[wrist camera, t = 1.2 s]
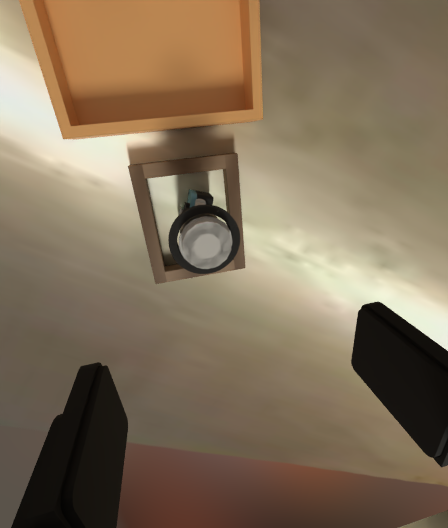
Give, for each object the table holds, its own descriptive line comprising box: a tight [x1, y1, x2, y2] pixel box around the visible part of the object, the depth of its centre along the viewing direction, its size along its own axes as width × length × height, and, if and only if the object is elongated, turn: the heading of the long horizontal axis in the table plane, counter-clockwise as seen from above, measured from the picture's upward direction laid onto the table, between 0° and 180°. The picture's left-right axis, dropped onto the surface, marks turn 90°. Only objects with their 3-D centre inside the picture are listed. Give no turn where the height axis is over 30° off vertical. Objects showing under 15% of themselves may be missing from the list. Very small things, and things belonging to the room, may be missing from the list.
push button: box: [169, 189, 240, 274], centre depth 24 cm, size 7×5×10 cm
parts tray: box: [19, 0, 263, 139], centre depth 20 cm, size 16×13×3 cm
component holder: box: [128, 153, 245, 284], centre depth 28 cm, size 10×12×2 cm
